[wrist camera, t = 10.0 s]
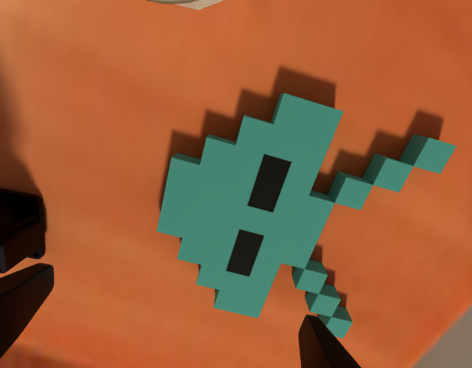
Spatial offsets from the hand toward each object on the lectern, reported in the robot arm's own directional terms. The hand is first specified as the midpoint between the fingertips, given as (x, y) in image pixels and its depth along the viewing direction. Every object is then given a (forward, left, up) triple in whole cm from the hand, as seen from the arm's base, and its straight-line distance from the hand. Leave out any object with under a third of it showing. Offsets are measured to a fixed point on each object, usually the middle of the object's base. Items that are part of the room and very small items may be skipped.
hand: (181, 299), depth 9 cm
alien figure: (+6, -2, -14) cm, 15 cm away
